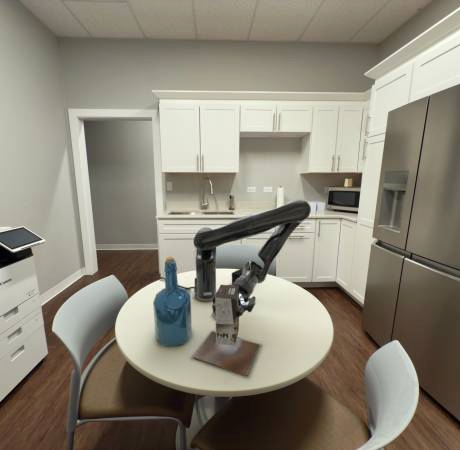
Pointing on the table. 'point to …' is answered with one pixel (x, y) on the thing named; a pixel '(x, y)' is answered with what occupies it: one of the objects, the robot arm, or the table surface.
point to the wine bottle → (172, 309)
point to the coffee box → (227, 314)
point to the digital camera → (236, 275)
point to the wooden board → (228, 354)
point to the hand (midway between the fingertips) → (225, 311)
